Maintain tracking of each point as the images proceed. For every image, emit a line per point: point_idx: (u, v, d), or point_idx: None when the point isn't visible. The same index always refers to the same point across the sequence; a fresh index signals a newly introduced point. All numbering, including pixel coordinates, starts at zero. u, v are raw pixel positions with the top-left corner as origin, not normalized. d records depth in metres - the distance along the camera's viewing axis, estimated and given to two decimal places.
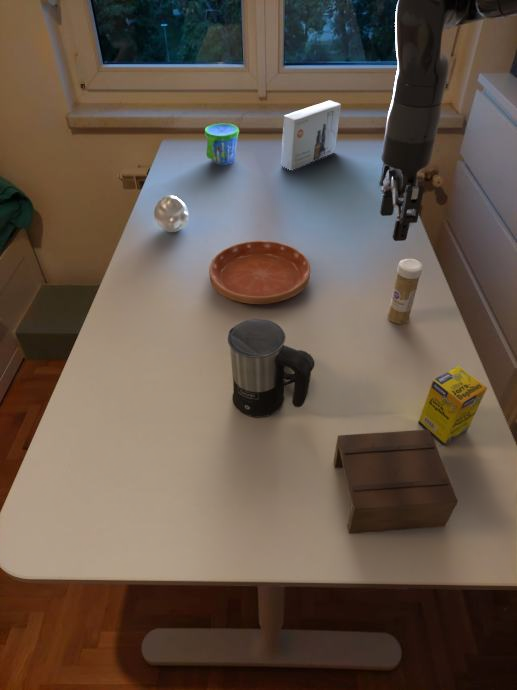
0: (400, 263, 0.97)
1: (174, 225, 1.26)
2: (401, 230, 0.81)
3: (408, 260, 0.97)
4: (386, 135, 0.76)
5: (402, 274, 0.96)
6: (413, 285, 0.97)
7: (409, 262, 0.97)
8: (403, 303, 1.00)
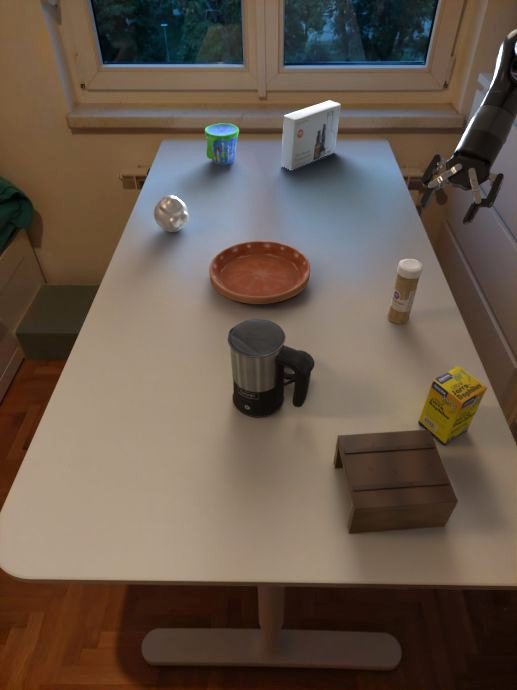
0: (400, 263, 0.97)
1: (174, 225, 1.26)
2: None
3: (408, 260, 0.97)
4: None
5: (402, 274, 0.96)
6: (413, 285, 0.97)
7: (409, 262, 0.97)
8: (403, 303, 1.00)
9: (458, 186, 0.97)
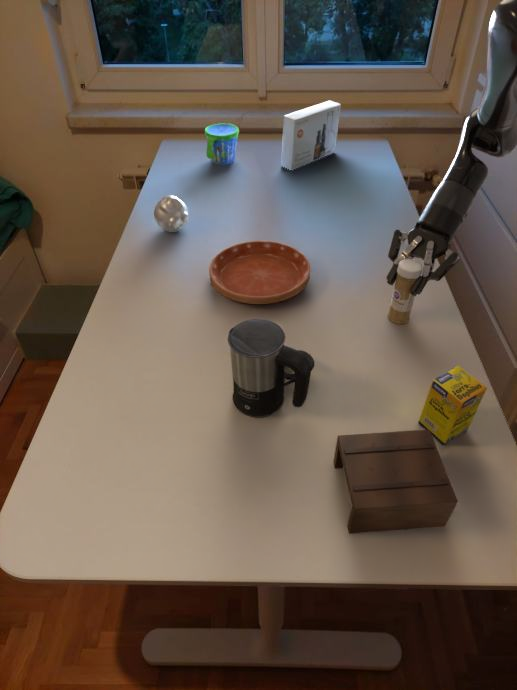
0: (400, 263, 0.97)
1: (174, 225, 1.26)
2: None
3: (408, 260, 0.97)
4: None
5: (402, 274, 0.96)
6: (413, 285, 0.97)
7: (409, 262, 0.97)
8: (403, 303, 1.00)
9: (419, 257, 0.98)
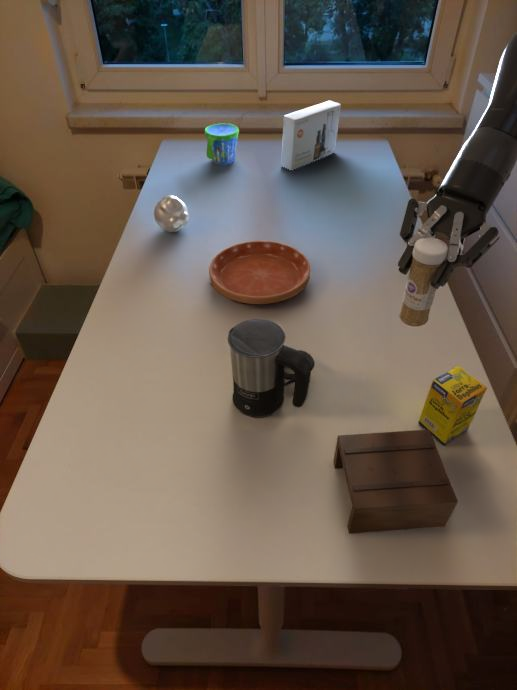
0: (417, 243, 0.70)
1: (174, 225, 1.26)
2: None
3: (428, 239, 0.71)
4: None
5: (419, 258, 0.70)
6: (434, 274, 0.71)
7: (429, 242, 0.70)
8: (420, 298, 0.74)
9: (442, 235, 0.72)
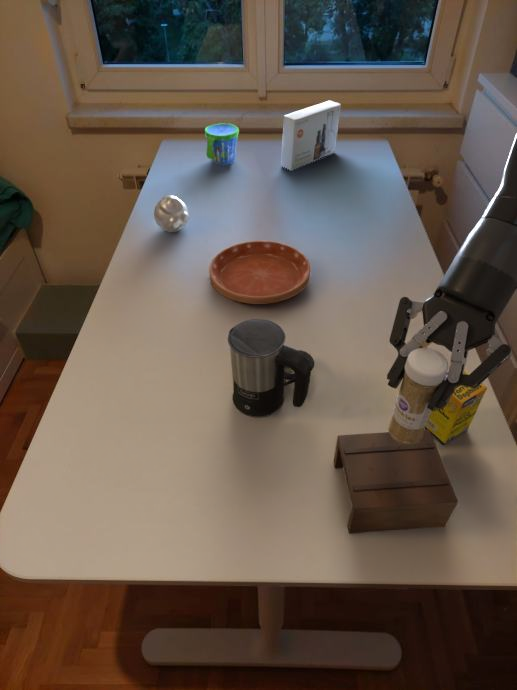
0: (410, 357, 0.57)
1: (174, 225, 1.26)
2: None
3: (423, 351, 0.58)
4: None
5: (413, 377, 0.56)
6: (431, 394, 0.58)
7: (425, 356, 0.57)
8: (413, 418, 0.60)
9: (441, 345, 0.59)
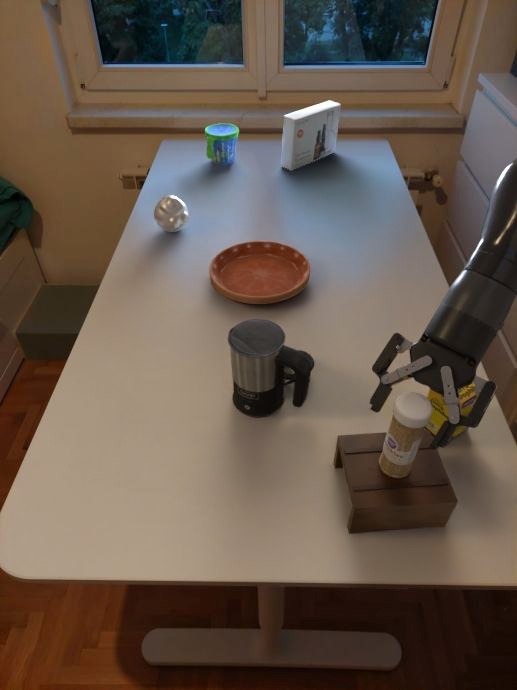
0: (397, 402, 0.62)
1: (174, 225, 1.26)
2: None
3: (410, 396, 0.63)
4: None
5: (401, 420, 0.62)
6: (417, 434, 0.63)
7: (411, 401, 0.62)
8: (401, 455, 0.66)
9: (427, 385, 0.63)
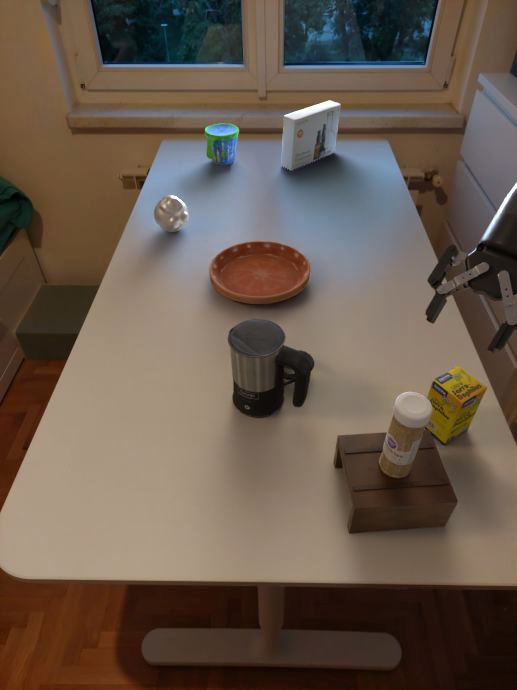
0: (397, 402, 0.62)
1: (174, 225, 1.26)
2: None
3: (410, 396, 0.63)
4: None
5: (400, 420, 0.62)
6: (417, 434, 0.63)
7: (411, 401, 0.62)
8: (401, 455, 0.66)
9: (483, 294, 0.65)
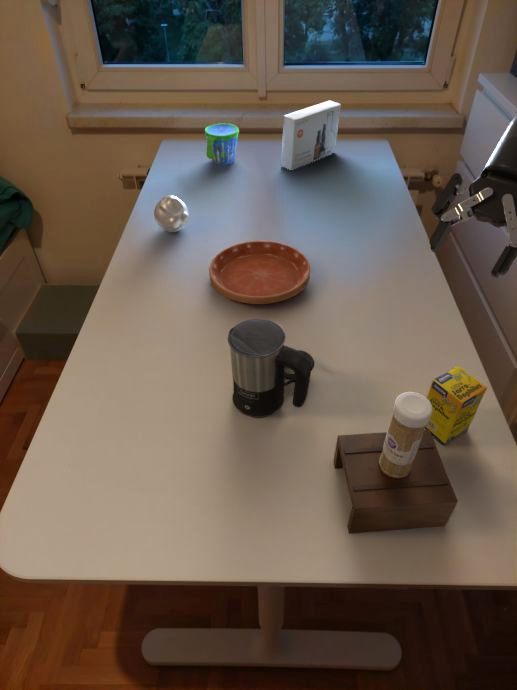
0: (397, 402, 0.62)
1: (174, 225, 1.26)
2: None
3: (410, 396, 0.63)
4: None
5: (400, 420, 0.62)
6: (417, 434, 0.63)
7: (411, 401, 0.62)
8: (401, 455, 0.66)
9: (486, 220, 0.66)
